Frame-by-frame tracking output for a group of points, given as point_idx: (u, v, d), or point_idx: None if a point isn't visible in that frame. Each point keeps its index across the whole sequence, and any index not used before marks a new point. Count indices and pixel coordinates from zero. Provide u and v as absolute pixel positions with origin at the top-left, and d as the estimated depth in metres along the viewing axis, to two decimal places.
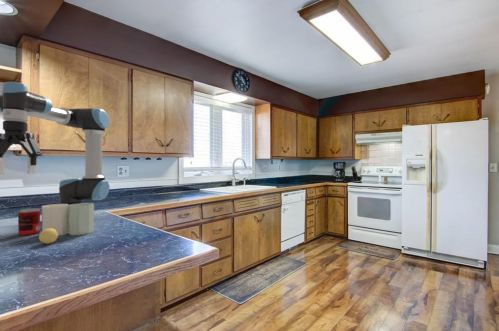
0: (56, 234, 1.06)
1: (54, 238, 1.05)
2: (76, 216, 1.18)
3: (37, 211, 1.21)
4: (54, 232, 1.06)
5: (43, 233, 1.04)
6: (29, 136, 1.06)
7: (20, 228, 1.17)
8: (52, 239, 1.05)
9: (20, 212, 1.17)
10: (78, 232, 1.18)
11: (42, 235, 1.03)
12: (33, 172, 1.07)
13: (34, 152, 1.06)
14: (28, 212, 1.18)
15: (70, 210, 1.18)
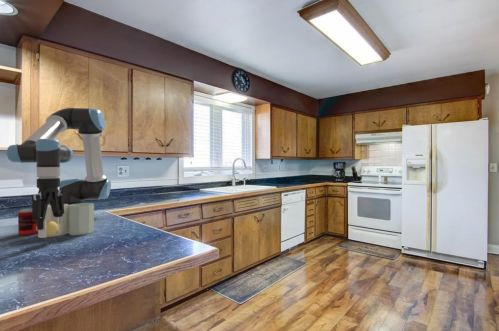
0: (56, 226, 1.07)
1: (54, 230, 1.06)
2: (76, 216, 1.18)
3: None
4: (54, 224, 1.06)
5: None
6: (33, 199, 1.00)
7: (20, 228, 1.17)
8: (52, 231, 1.05)
9: (20, 212, 1.17)
10: (78, 232, 1.18)
11: None
12: (43, 236, 1.03)
13: None
14: (28, 212, 1.18)
15: (70, 210, 1.18)
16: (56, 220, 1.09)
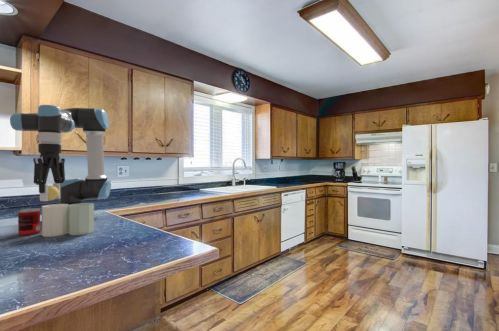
0: (57, 191, 1.09)
1: (56, 195, 1.08)
2: (76, 216, 1.18)
3: (37, 211, 1.21)
4: (55, 189, 1.08)
5: None
6: (34, 162, 1.02)
7: (20, 228, 1.17)
8: (54, 196, 1.08)
9: (20, 212, 1.17)
10: (78, 232, 1.18)
11: None
12: (44, 200, 1.05)
13: None
14: (28, 212, 1.18)
15: (70, 210, 1.18)
16: (57, 186, 1.12)
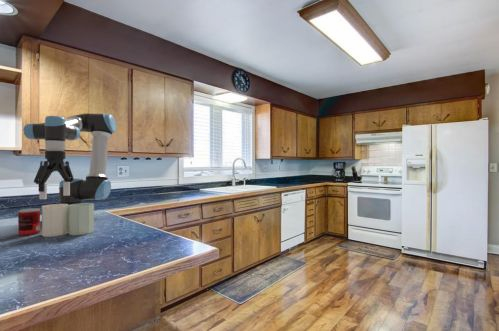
0: None
1: None
2: (76, 216, 1.18)
3: (37, 211, 1.21)
4: None
5: None
6: (40, 164, 1.14)
7: (20, 228, 1.17)
8: None
9: (20, 212, 1.17)
10: (78, 232, 1.18)
11: None
12: (43, 198, 1.13)
13: None
14: (28, 212, 1.18)
15: (70, 210, 1.18)
16: (67, 184, 1.27)
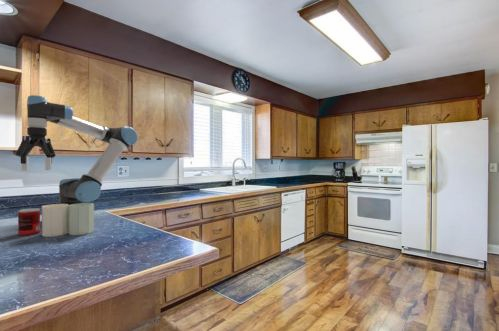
0: None
1: None
2: (76, 216, 1.18)
3: (37, 211, 1.21)
4: None
5: None
6: (23, 138, 1.24)
7: (20, 228, 1.17)
8: None
9: (20, 212, 1.17)
10: (78, 232, 1.18)
11: None
12: (25, 169, 1.24)
13: None
14: (28, 212, 1.18)
15: (70, 210, 1.18)
16: (49, 160, 1.38)
